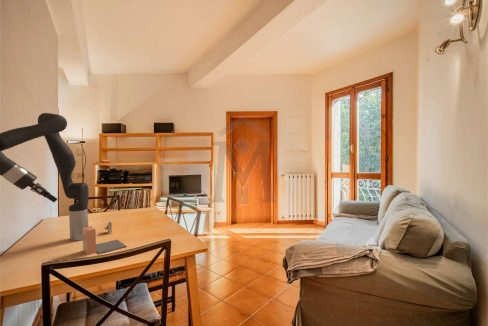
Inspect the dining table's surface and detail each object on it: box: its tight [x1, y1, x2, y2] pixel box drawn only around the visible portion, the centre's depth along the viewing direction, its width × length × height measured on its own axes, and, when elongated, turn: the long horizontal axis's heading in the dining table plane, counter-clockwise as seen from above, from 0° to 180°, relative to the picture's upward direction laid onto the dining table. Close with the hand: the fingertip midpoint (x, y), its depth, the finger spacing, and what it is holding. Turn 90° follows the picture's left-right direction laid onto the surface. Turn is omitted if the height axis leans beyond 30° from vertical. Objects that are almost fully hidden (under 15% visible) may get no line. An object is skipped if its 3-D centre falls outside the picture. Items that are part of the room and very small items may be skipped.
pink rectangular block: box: [82, 225, 97, 256], centre depth 125 cm, size 8×4×12 cm, turn 45°
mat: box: [96, 239, 127, 255], centre depth 132 cm, size 15×13×1 cm
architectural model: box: [103, 220, 113, 235], centre depth 156 cm, size 3×7×7 cm, turn 37°
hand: (55, 200), depth 117 cm, fingers closed
